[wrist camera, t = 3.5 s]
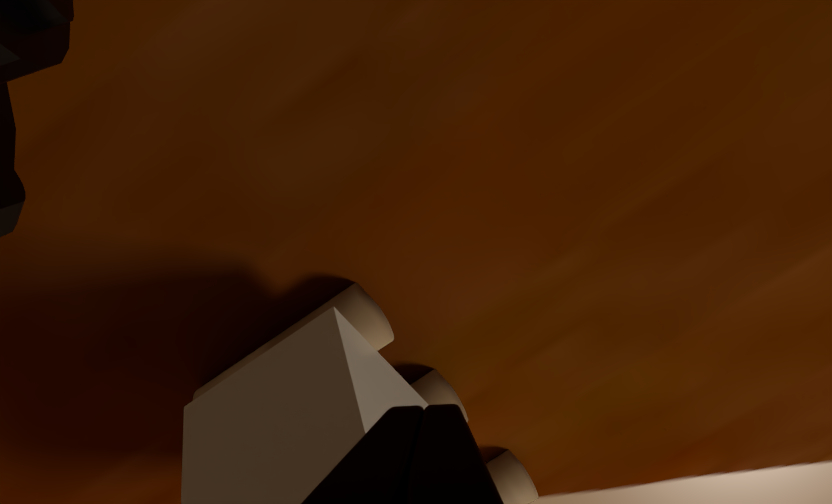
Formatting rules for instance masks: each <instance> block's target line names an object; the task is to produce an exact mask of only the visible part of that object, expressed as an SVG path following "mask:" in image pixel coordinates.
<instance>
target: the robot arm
mask: <svg viewBox="0 0 832 504" xmlns="http://www.w3.org/2000/svg"><path fill="white" fill-rule="evenodd" d="M73 17H74V10H73V0H0V237H1V236H4V235H6V234H8V233H10V232H13V230H14V228H15V226H16V224H17V222H18V219H19V216H20V213H21V210H22V207H23V204H24V201H25V190H24V186H23V184H22V182H21V180H20V178H19V177H18V175H17V173H16V172H15V170H14V158H15V135H16V127H15V122H14V117H13V112H12V107H11V102H10V97H9V92H8V87H7V82H8V81H11V80H14V79H17V78H20V77H22V76H25V75H28V74H31V73H34V72H37V71H40V70H43V69H46V68H48V67H51V66H54V65H57V64H60V63H61V62H62V61H63V59H64V57H65V55H66V53H67V51H68V49H69V37H70V21H73ZM301 504H504V503H503V501H502V498H501V496H500V494H499V492H498V490H497V487H496V485H495V483H494V481H493V479H492V476H491V474H490V472H489V470H488V468H487V466H486V463H485V461H484V459H483V457H482V455H481V452H480V450H479V448H478V446H477V444H476V441H475V439H474V437H473V435H472V433H471V430H470V428H469V426H468V424H467V422H466V419H465V417H464V415H463V413H462V411H461V409H460V407H459V406H458V405H457V404H435V405H428V406H427V407H426V408H425V409H423V407H421V406H419V405H414V406H394V407H391V408H390V409H388V410H387V411H386V412H385V413H384V414H383V415H382V416H381V418H380V419H379V420H378V421H377V422H376V423H375V424H374V425H373V426H372V427H371V428H370V429H369V430H368V432H367V433H366V434H365V435H364V436H363V437H362V438H361V439H360V440H359V441H358V442H357V443H356V445H355V446H354V447H353V448H352V449H351V450H350V451H349V452H348V453H347V454H346V455H345V456H344V457H343V459H342V460H341V461H340V462H339V463H338V464H337V465H336V466H335V467H334V468H333V469H332V470H331V472H330V473H329V474H328V475H327V476H326V477H325V478H324V479H323V480H322V481H321V482H320V483H319V484H318V486H317V487H316V488H315V489H314V490H313V491H312V492H311V493H310V494H309V495H308V496H307V497H306V499H305V500H304V501H303V502H302V503H301Z"/></svg>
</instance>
